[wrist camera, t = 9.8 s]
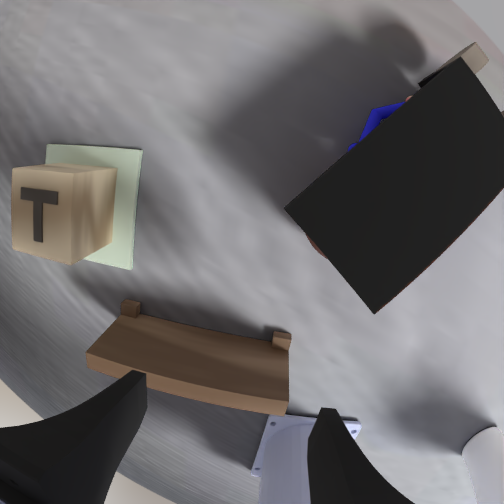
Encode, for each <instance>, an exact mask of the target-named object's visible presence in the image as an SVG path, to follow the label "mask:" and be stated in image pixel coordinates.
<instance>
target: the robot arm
mask: <svg viewBox="0 0 504 504" xmlns="http://www.w3.org/2000/svg"><path fill="white" fill-rule="evenodd" d="M146 410H147V382H146V373H143V372H139V371H136V370H131V371H130V372H128V373H127V374H126V375H124V376H123V377H122V378H120V379H119V380H117V381H116V382H115V383H113V384H112V385H110V386H109V387H108V388H106V389H105V390H103V391H102V392H100V393H99V394H97V395H95V396H94V397H92V398H90V399H89V400H87V401H85V402H84V403H82V404H80V405H78V406H76V407H74V408H72V409H70V410H68V411H66V412H64V413H61V414H59V415H56V416H53V417H50V418H47V419H44V420H41V421H38V422H34V423H30V424H25V425H20V426H13V427H5V428H0V504H104V501H105V499H106V495H107V492H108V490H109V487H110V484H111V482H112V479H113V477H114V474H115V472H116V470H117V468H118V466H119V464H120V462H121V460H122V458H123V456H124V455H125V453H126V451H127V449H128V447H129V446H130V444H131V442H132V440H133V438H134V437H135V435H136V433H137V431H138V429H139V427H140V425H141V423H142V420H143V418H144V415H145V412H146ZM272 422H275V423H272ZM361 427H362V426H361V423H360V422H358V421H344V420H342V419H341V417H340V415H339V413H338V412H337V410H336V409H332V408H322V407H321V410H320V412H319V415H318V417H317V418H311V417H302V416H293V415H286V414H285V415H284V416H278V415H271V414H270V415H269V416H268V420H267V423H266V426H265V429H264V433H263V436H262V439H261V442H260V445H259V448H258V451H257V455H256V458H255V461H254V464H253V467H252V470H251V475H253V476H256V477H261V481H260V491H259V501H258V504H415V503H413V502H412V501H410V500H409V499H407V498H406V497H405V496H403V495H402V494H401V493H400V492H399V491H397V490H396V489H395V488H394V487H393V486H392V485H391V484H389V483H388V482H387V481H386V480H385V479H384V478H383V477H382V475H381V474H380V473H379V472H378V471H377V470H376V469H375V468H374V467H373V465H372V464H371V463H370V462H369V460H368V459H367V458H366V456H365V455H364V454H363V452H362V451H361V449H360V448H359V446H358V445H357V443H356V442H355V438H356V436H357V435H358V433H359V431H360V429H361ZM352 430H353V431H352Z"/></svg>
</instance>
